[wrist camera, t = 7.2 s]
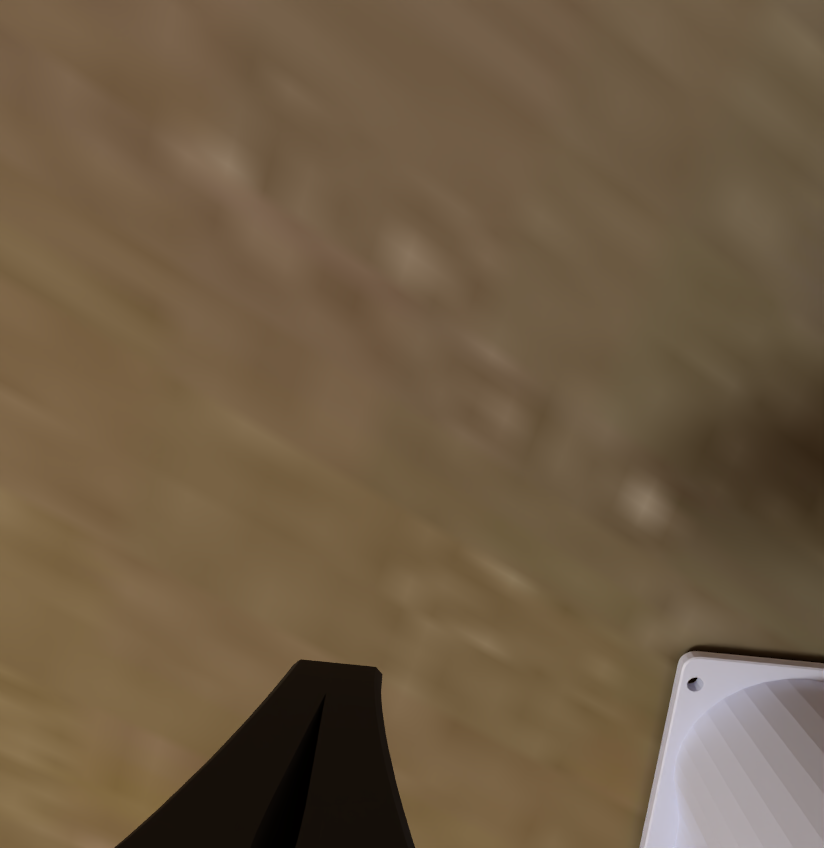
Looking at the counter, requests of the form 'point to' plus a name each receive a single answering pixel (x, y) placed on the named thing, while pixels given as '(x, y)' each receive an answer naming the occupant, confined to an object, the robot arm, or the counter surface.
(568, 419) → the counter surface
